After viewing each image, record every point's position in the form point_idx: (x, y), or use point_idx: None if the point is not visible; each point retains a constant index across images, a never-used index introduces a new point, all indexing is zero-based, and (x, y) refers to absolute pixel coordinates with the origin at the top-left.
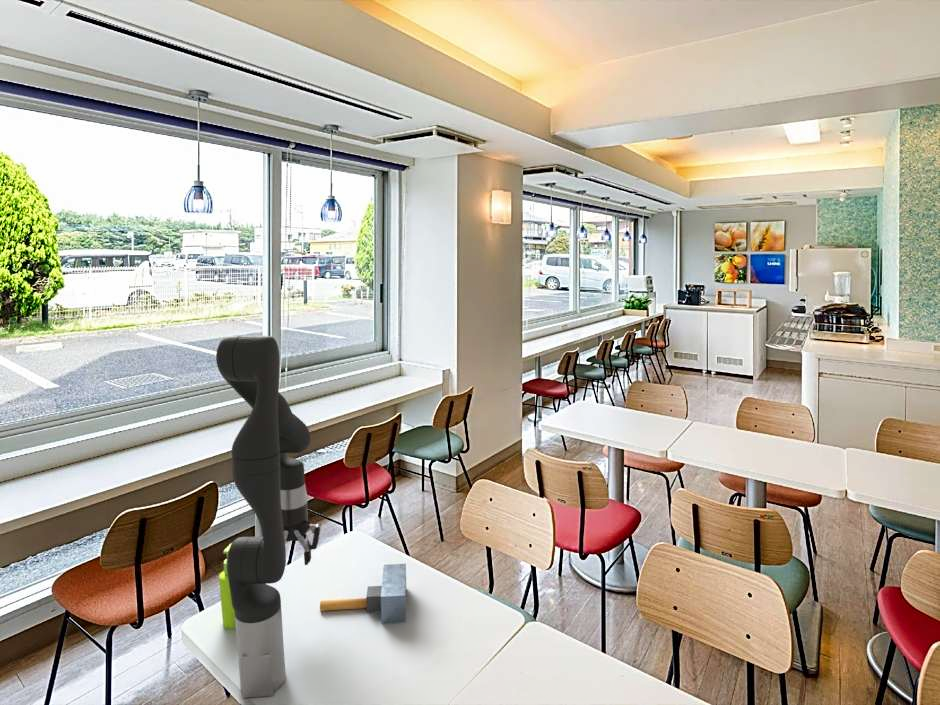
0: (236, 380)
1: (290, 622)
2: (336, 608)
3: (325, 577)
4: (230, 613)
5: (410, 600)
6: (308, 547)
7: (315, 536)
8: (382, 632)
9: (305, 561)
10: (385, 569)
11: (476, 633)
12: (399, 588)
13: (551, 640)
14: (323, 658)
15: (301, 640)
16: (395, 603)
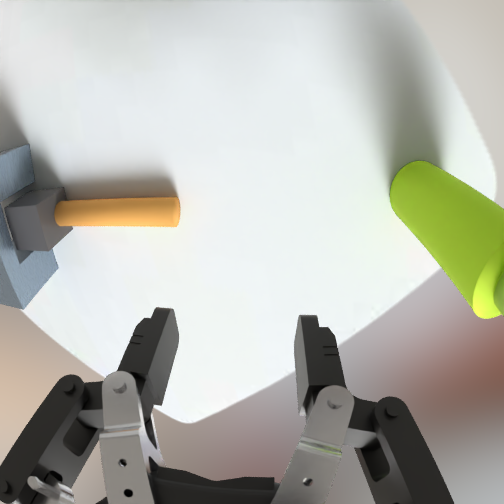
0: None
1: (263, 156)
2: (129, 198)
3: (204, 333)
4: (450, 175)
5: (8, 225)
6: (102, 397)
7: (31, 451)
8: (24, 114)
9: (159, 322)
10: (11, 290)
11: None
12: None
13: None
14: (136, 3)
15: (210, 67)
16: None
